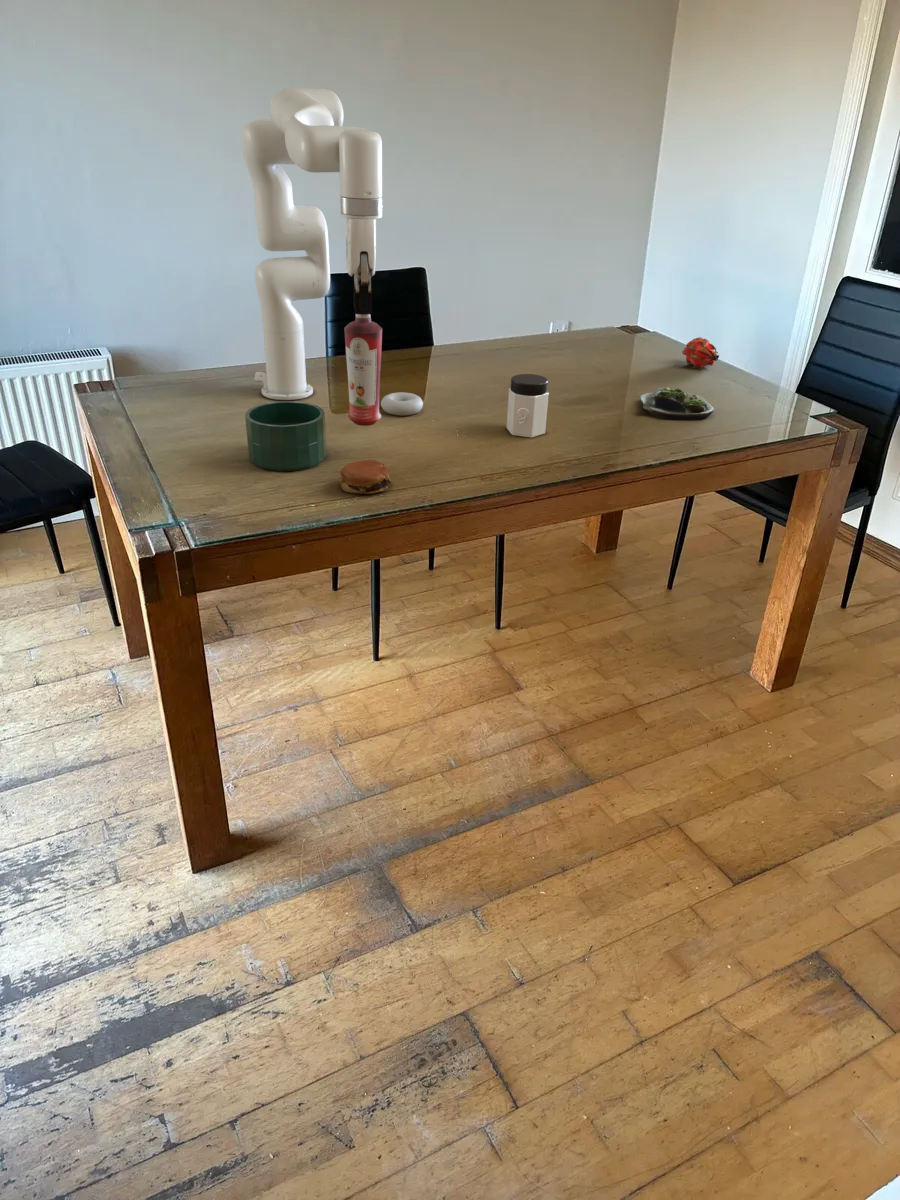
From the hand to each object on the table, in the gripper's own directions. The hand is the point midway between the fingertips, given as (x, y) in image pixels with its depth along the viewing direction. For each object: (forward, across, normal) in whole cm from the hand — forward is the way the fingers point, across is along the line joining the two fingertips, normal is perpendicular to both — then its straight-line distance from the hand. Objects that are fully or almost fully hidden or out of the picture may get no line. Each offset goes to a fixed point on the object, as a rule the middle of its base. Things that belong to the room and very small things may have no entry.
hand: (362, 310), depth 167 cm
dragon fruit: (+30, -61, +100) cm, 121 cm away
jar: (+29, -11, +37) cm, 49 cm away
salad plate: (+29, -24, +78) cm, 87 cm away
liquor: (+22, 0, 0) cm, 22 cm away
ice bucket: (+29, +1, -16) cm, 33 cm away
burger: (+29, +17, -1) cm, 34 cm away
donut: (+30, -28, +11) cm, 42 cm away
